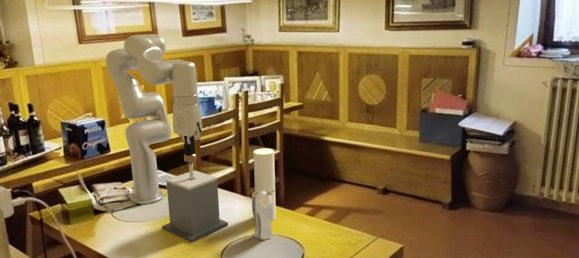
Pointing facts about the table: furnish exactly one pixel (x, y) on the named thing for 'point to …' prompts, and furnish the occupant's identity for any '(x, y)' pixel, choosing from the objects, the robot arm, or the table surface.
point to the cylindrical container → (265, 173)
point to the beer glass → (262, 213)
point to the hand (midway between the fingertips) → (190, 154)
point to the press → (193, 206)
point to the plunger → (190, 163)
